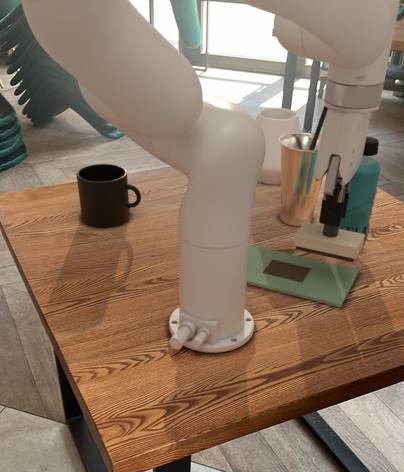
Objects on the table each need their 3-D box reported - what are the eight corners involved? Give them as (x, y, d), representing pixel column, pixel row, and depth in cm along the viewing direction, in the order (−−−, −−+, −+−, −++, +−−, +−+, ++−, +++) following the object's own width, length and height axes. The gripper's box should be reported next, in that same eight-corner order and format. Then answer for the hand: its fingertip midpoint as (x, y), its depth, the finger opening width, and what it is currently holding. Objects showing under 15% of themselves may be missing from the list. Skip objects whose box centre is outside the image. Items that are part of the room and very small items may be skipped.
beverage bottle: (337, 261, 101) (358, 147, 89) (321, 243, 106) (339, 133, 94) (370, 256, 103) (396, 144, 90) (353, 240, 108) (375, 131, 95)
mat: (340, 307, 90) (341, 303, 90) (224, 277, 96) (224, 274, 96) (358, 272, 98) (359, 269, 98) (250, 247, 105) (250, 244, 104)
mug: (137, 230, 109) (134, 184, 104) (76, 226, 110) (70, 180, 105) (146, 209, 117) (144, 165, 111) (89, 205, 118) (84, 162, 112)
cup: (263, 192, 124) (269, 126, 116) (232, 171, 133) (235, 109, 125) (313, 181, 129) (322, 117, 121) (279, 162, 138) (285, 101, 130)
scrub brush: (354, 263, 89) (368, 197, 82) (293, 250, 92) (301, 185, 85) (362, 249, 92) (375, 185, 85) (302, 236, 96) (310, 173, 89)
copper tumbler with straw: (323, 207, 119) (349, 45, 100) (327, 232, 110) (356, 59, 91) (271, 204, 120) (287, 43, 101) (270, 228, 111) (288, 57, 92)
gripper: (340, 77, 84) (323, 196, 96) (308, 105, 73) (292, 237, 84) (392, 83, 82) (367, 205, 93) (367, 113, 70) (342, 248, 82)
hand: (332, 219), depth 89 cm, fingers closed on scrub brush, 2 cm apart
